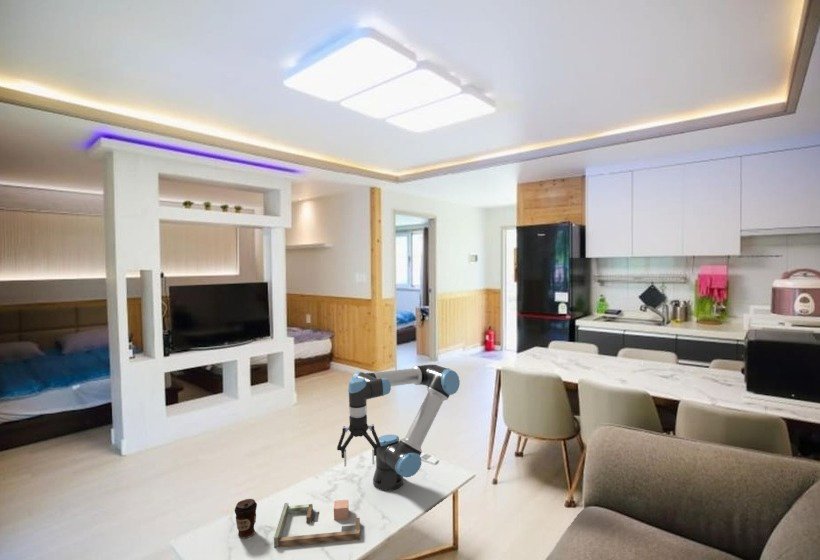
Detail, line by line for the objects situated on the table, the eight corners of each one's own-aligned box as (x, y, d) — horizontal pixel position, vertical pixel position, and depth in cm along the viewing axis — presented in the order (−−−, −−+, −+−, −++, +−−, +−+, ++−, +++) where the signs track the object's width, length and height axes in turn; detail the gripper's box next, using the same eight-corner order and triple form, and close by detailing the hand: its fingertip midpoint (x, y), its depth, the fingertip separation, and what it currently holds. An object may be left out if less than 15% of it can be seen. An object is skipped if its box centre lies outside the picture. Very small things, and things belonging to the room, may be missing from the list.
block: (348, 510, 182) (348, 499, 182) (348, 518, 176) (347, 507, 176) (334, 511, 182) (334, 500, 181) (334, 520, 176) (333, 508, 176)
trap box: (359, 505, 186) (359, 496, 186) (359, 539, 163) (359, 529, 163) (285, 511, 182) (284, 503, 182) (274, 547, 159) (273, 537, 159)
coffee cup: (249, 542, 163) (248, 510, 162) (230, 540, 164) (229, 508, 164) (261, 528, 171) (260, 498, 170) (243, 526, 173) (242, 496, 172)
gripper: (385, 409, 183) (386, 457, 184) (331, 413, 180) (332, 461, 181) (385, 416, 176) (387, 465, 177) (329, 419, 173) (331, 470, 174)
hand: (359, 463), depth 179 cm, fingers open, 11 cm apart
